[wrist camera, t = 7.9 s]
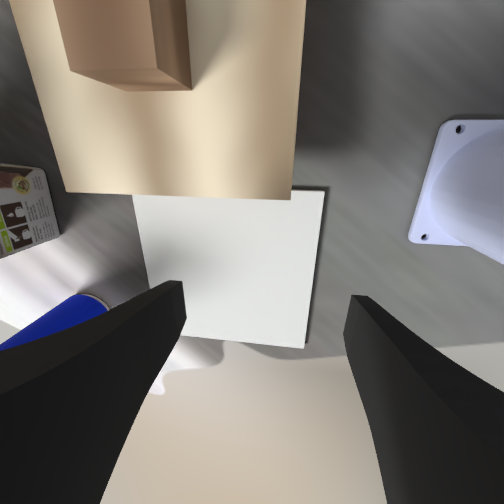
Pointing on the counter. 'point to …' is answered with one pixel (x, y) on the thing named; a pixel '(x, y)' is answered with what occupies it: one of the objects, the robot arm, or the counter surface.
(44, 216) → the coffee box
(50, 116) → the lid
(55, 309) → the beverage can
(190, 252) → the mat
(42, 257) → the counter surface
